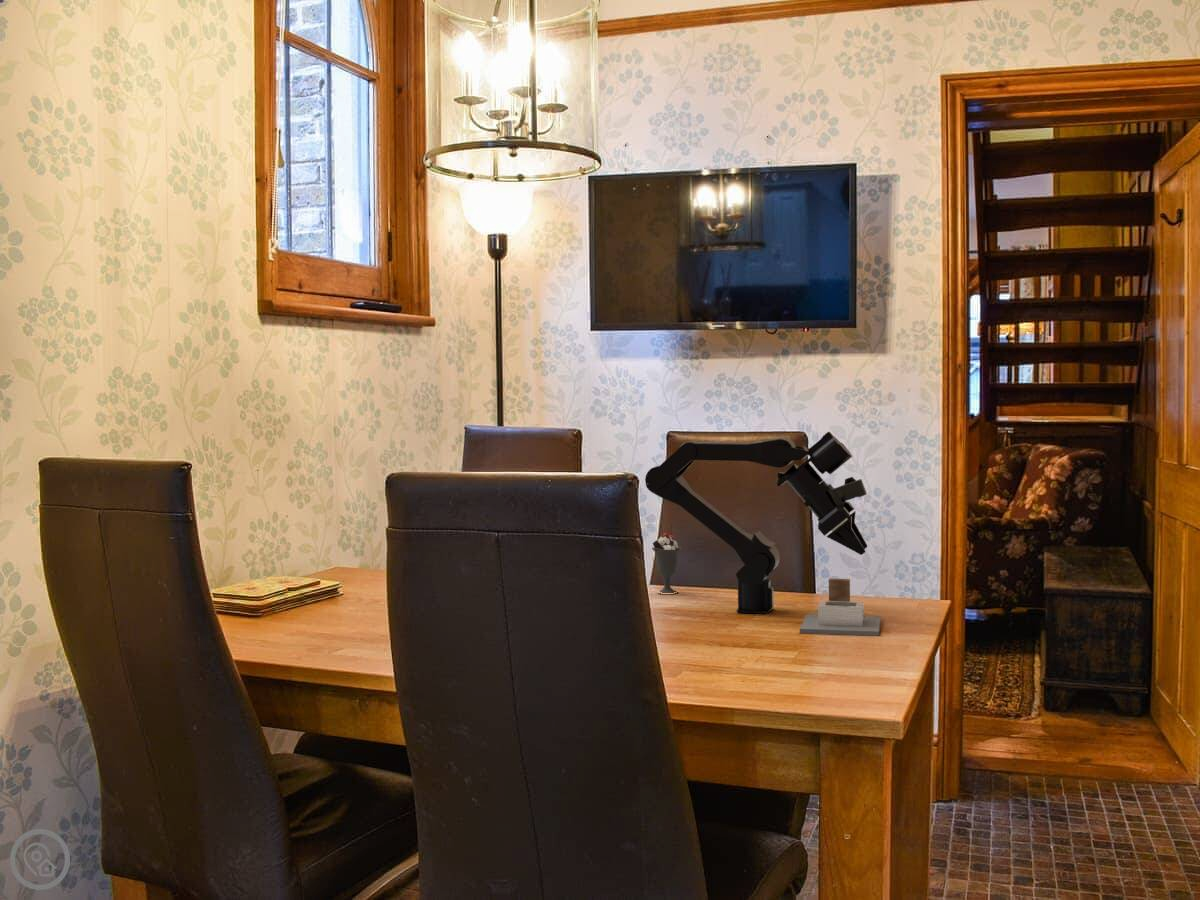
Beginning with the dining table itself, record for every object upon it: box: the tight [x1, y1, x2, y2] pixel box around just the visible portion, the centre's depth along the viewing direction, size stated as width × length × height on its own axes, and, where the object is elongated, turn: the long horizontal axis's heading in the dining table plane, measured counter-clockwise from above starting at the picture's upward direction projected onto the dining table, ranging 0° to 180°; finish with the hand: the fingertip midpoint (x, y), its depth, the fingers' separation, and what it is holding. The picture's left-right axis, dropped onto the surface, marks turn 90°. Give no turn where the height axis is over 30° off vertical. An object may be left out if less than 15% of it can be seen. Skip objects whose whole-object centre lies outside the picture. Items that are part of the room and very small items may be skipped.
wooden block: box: [828, 577, 851, 601], centre depth 218 cm, size 4×2×7 cm, turn 74°
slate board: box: [799, 613, 882, 637], centre depth 206 cm, size 14×14×1 cm
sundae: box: [651, 525, 682, 593], centre depth 246 cm, size 7×7×15 cm
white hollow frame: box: [817, 600, 865, 626], centre depth 206 cm, size 8×6×4 cm
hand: (864, 550), depth 216 cm, fingers open, 9 cm apart
